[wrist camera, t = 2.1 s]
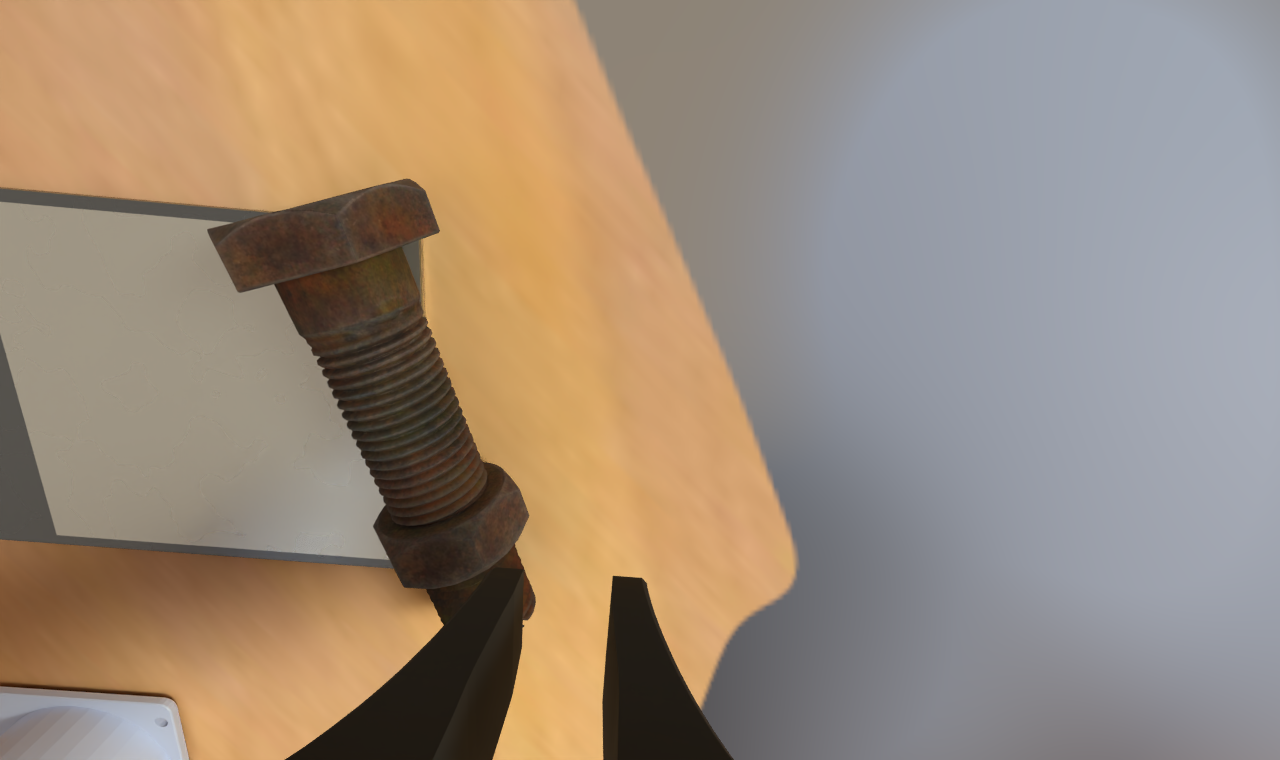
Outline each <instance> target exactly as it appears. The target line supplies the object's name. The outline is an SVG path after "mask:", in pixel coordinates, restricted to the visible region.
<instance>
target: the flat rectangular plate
mask: <svg viewBox="0 0 1280 760" xmlns="http://www.w3.org/2000/svg"><path fill="white" fill-rule="evenodd" d="M267 213H271V212H270V211H259V210H248V209H236V208H225V207H214V206H203V205H192V204H181V203H169V202H158V201H147V200H136V199H125V198H114V197H103V196H91V195H80V194H69V193H58V192H47V191H36V190H25V189H13V188H2V187H0V539H2V540H16V541H29V542H43V543H56V544H70V545H83V546H97V547H110V548H124V549H137V550H151V551H164V552H178V553H191V554H205V555H218V556H232V557H245V558H259V559H272V560H286V561H299V562H313V563H326V564H340V565H353V566H367V567H380V568H393V566H392V564H391V562H390V560H389V558H388V556H387V554H386V552H385V550H384V548H383V546H382V544H381V542H380V540H379V538H378V536H377V534H376V532H375V530H374V528H373V525H374V523H375V521H376V519H377V517H378V515H379V514H380V512H381V511H382V509H383V507H384V506H385V505H386V504H385V503H384V501H383V496H382V495H381V494H380V493H379V487H378V486H377V485H375V483H374V479H375V478H374V477H372V476H371V475H370V468H368V467H367V466H366V464H365V459H363V458H362V456H361V450H360V449H359V448H358V447H357V446H356V442H357V440H355V439H353V438H352V436H351V434H352V430H350V429H348V428H347V422H348V421H347V420H345V419H344V418H342V413H343V411H344V410H342V409H339V408H338V407H337V403H338V401H339V399H334V397H333V395H332V392H333V390H334V389H331V388H329V387H328V384H327V381H328V380H329V379H328V378H326V377H324V376H323V374H322V370H323V369H324V368H322V367H321V366H319V365H318V364H317V360H318V359H319V358H320V357H319V356H313V353H312V351H311V349H312V347H311V346H309V345H308V344H307V342H306V340H305V339H304V338H303V337H301V336H300V335H299V334H298V332H297V330H296V328H295V326H294V324H293V322H292V320H291V318H290V316H289V314H288V312H287V310H286V308H285V305H284V303H283V301H282V299H281V297H280V295H279V293H278V291H277V289H276V287H275V285H274V284H273V285H269V286H265V287H262V288H258V289H254V290H250V291H246V292H242V293H239V292H237V290H236V288H235V286H234V284H233V282H232V280H231V278H230V276H229V274H228V272H227V270H226V268H225V266H224V264H223V262H222V260H221V258H220V256H219V254H218V252H217V251H216V249H215V247H214V245H213V243H212V241H211V239H210V237H209V234H208V232H207V229H210V228H214V227H218V226H222V225H226V224H230V223H234V222H238V221H241V220H245V219H249V218H252V217H256V216H260V215H263V214H267ZM402 248H403V251H404V253H405V256H406V258H407V261H408V264H409V266H410V269H411V271H412V274H413V277H414V279H415V282H416V284H417V287H418V290H419V292H420V301H419V302H420V304H421V306H422V309H423V312H424V313H423V315H422V316H423V317H425V300H424V270H423V241H422V239H420V240H418V241H415V242H412V243H409V244H407V245H404V246H402Z"/></svg>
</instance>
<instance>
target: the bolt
mask: <svg viewBox="0 0 1280 760" xmlns="http://www.w3.org/2000/svg"><path fill="white" fill-rule="evenodd" d="M439 231H440V230H439V227H438V225H437V222H436V219H435V216H434V214H433V211H432V208H431V206H430V203H429V200H428V197H427V195H426V192H425V190H424V189H423V188H421V187H420V186H419V185H418V184H417V183H416V182H414V181H412V180H410V179H403V180H399V181H395V182H391V183H386V184H382V185H378V186H374V187H370V188H366V189H362V190H359V191H355V192H351V193H347V194H343V195H340V196H336V197H332V198H328V199H324V200H321V201H317V202H313V203H309V204H305V205H302V206H298V207H294V208H290V209H286V210H282V211H277V212H271V213H267V214H263V215H260V216H256V217H252V218H249V219H245V220H241V221H238V222H234V223H230V224H226V225H222V226H218V227H214V228H210V229H207V232H208V234H209V237H210V239H211V241H212V243H213V245H214V247H215V249H216V251H217V252H218V254H219V256H220V258H221V260H222V262H223V264H224V266H225V268H226V270H227V272H228V274H229V276H230V278H231V280H232V282H233V284H234V286H235V288H236V290H237V292H239V293H242V292H246V291H250V290H254V289H258V288H262V287H265V286H269V285H273V284H274V285H275V287H276V289H277V291H278V293H279V295H280V297H281V299H282V301H283V303H284V305H285V308H286V310H287V312H288V314H289V316H290V318H291V320H292V322H293V324H294V326H295V328H296V330H297V332H298V334H299V335H300V336H301V337H303V338H304V339H305V340H306V342H307V344H308V345H309V346H311V347H312V349H311V351H312V353H313V356H319V357H320V358H319V359H318V360H317V364H318V365H319V366H321V367H322V368H324V369H323V370H322V374H323V376H324V377H326V378H328V379H329V380H328V381H327V384H328V387H329V388H331V389H334V390H333V392H332V395H333V397H334V399H339V401H338V403H337V407H338V408H339V409H342V410H344V411H343V413H342V418H344V419H345V420H347V421H348V422H347V428H348V429H350V430H352V434H351V436H352V438H353V439H355V440H357V442H356V446H357V447H358V448H359V449H360V450H361V456H362V458H363V459H365V464H366V466H367V467H368V468H370V475H371V476H372V477H374V478H375V479H374V483H375V485H377V486H378V487H379V493H380V494H381V495H382V496H383V501H384V503H385V504H386V505H385V506H384V507H383V509H382V511H381V512H380V514H379V515H378V517H377V519H376V521H375V523H374V525H373V528H374V530H375V532H376V534H377V536H378V538H379V540H380V542H381V544H382V546H383V548H384V550H385V552H386V554H387V556H388V558H389V560H390V562H391V564H392V566H393V568H394V569H395V571H396V573H397V575H398V577H399V579H400V581H401V583H402V584H403V586H404V587H405V588H421V589H426V590H427V593H428V594H429V595H430V598H431V601H432V602H433V603H434V606H435V609H436V610H437V612H438V616H439V617H440V618H441V622H442V623H443V624H444V625H445V624H446V623H447V622H448V621H449V620H450V618H451V617H452V616H453V615H454V614H455V613H456V612H457V611H458V610H459V608H460V607H461V606H462V605H463V604H464V602H465V601H466V600H467V599H468V598H469V597H470V595H471V594H472V593H473V592H474V590H475V589H476V588H477V587H478V585H479V584H480V583H481V582H482V580H483V579H484V578H485V576H486V575H487V574H488V572H489V571H490V570H492V569H493V568H494V567H500V568H514V569H524V567H523V565H522V564H521V559H520V557H519V556H518V553H517V549H516V548H515V543H516V541H517V540H518V538H519V536H520V535H521V533H522V530H523V528H524V526H525V524H526V522H527V520H528V517H529V514H528V511H527V508H526V506H525V503H524V500H523V497H522V495H521V492H520V489H519V488H518V486H517V485H516V484H515V483H514V481H513V480H512V479H511V477H510V476H509V475H508V474H507V473H506V472H505V471H504V470H503V469H502V468H501V467H499V466H497V465H495V464H491V463H485V462H482V460H481V459H480V454H479V452H478V451H477V447H476V443H474V442H473V437H472V434H471V433H470V431H469V427H468V425H467V424H466V419H465V417H464V416H463V415H462V409H461V408H460V407H459V401H458V398H457V397H456V396H455V391H454V388H453V387H451V380H450V378H448V377H447V374H448V372H447V370H446V368H444V367H443V366H444V363H443V360H442V358H440V357H439V356H440V352H439V350H438V348H436V347H435V345H436V342H435V340H434V338H432V337H431V334H432V331H431V329H429V328H428V327H427V324H428V321H427V319H426V317H423V316H422V315H423V313H424V312H423V309H422V306H421V304H420V302H419V301H420V292H419V290H418V287H417V284H416V282H415V279H414V277H413V274H412V271H411V269H410V266H409V264H408V261H407V258H406V256H405V253H404V251H403V248H402V246H404V245H407V244H409V243H412V242H415V241H418V240H420V239H423V238H426V237H428V236H431V235H434V234H436V233H439ZM535 603H536V601H535V595H534V592H533V590H532V587H531V585H530V583H529V580H528V578H527V576H526V573H525V570H524V586H523V620H528V619H529V618H530V617H531V615H532V614H533V612H534V607H535ZM523 627H524V625H522V628H523Z"/></svg>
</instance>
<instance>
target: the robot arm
mask: <svg viewBox="0 0 1280 760" xmlns="http://www.w3.org/2000/svg"><path fill="white" fill-rule="evenodd" d="M523 586H524V569H514V568H500V567H494V568H493V569H492V570H490V571H489V572H488V574H487V575H486V576H485V578H484V579H483V580H482V582H481V583H480V584H479V585H478V587H477V588H476V589H475V590H474V592H473V593H472V594H471V595H470V597H469V598H468V599H467V600H466V601H465V602H464V604H463V605H462V606H461V607H460V608H459V610H458V611H457V612H456V613H455V614H454V615H453V616H452V617H451V618H450V620H449V621H448V622H447V623H446V624H445V625H444V626H443V627H442V628H441V629H440V631H439V632H438V633H437V634H436V635H435V636H434V637H433V638H432V639H431V640H430V641H429V642H428V643H427V644H426V645H425V646H424V647H423V648H422V649H421V650H420V651H419V652H418V653H417V654H416V655H415V656H414V657H413V658H412V659H411V660H410V661H409V662H408V663H407V664H406V665H405V666H404V667H403V668H402V669H401V670H400V671H399V672H398V673H396V674H395V675H394V676H393V677H392V678H391V679H390V680H389V681H388V682H386V683H385V684H384V685H383V686H382V687H381V688H380V689H379V690H377V691H376V692H375V693H374V694H373V695H371V696H370V697H369V698H368V699H367V700H365V701H364V702H363V703H362V704H361V705H359V706H358V707H357V708H356V709H354V710H353V711H352V712H350V713H349V714H348V715H347V716H345V717H344V718H343V719H341V720H340V721H339V722H337V723H336V724H335V725H334V726H332V727H331V728H330V729H328V730H327V731H326V732H324V733H323V734H322V735H320V736H319V737H317V738H316V739H315V740H313V741H312V742H311V743H309V744H308V745H306V746H305V747H303V748H302V749H300V750H299V751H297V752H296V753H294V754H293V755H291V756H290V757H288V758H287V759H285V760H492V759H493V756H494V752H495V749H496V746H497V743H498V740H499V737H500V733H501V730H502V727H503V724H504V721H505V717H506V714H507V711H508V708H509V704H510V701H511V698H512V694H513V689H514V684H515V679H516V674H517V669H518V664H519V659H520V654H521V649H522V623H523ZM0 760H189V756H188V752H187V747H186V743H185V738H184V734H183V730H182V725H181V721H180V716H179V712H178V708H177V705H176V703H175V702H174V701H173V700H171V699H169V698H165V697H152V696H137V695H122V694H107V693H92V692H78V691H63V690H48V689H33V688H18V687H4V686H0ZM603 760H734V759H733V758H732V757H731V755H730V754H729V752H728V751H727V749H726V748H725V747H724V745H723V744H722V742H721V741H720V739H719V738H718V737H717V735H716V733H715V732H714V731H713V729H712V727H711V726H710V724H709V722H708V721H707V719H706V718H705V716H704V715H703V713H702V711H701V710H700V708H699V706H698V704H697V703H696V701H695V699H694V697H693V696H692V694H691V692H690V690H689V688H688V686H687V685H686V683H685V681H684V679H683V677H682V675H681V673H680V671H679V669H678V667H677V665H676V663H675V661H674V659H673V657H672V654H671V652H670V650H669V648H668V645H667V643H666V641H665V639H664V636H663V634H662V631H661V629H660V626H659V624H658V621H657V618H656V616H655V613H654V610H653V607H652V604H651V600H650V597H649V593H648V588H647V583H646V582H645V581H644V580H643V579H642V578H634V577H621V576H613V581H612V592H611V604H610V615H609V627H608V638H607V650H606V662H605V675H604V689H603Z"/></svg>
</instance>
